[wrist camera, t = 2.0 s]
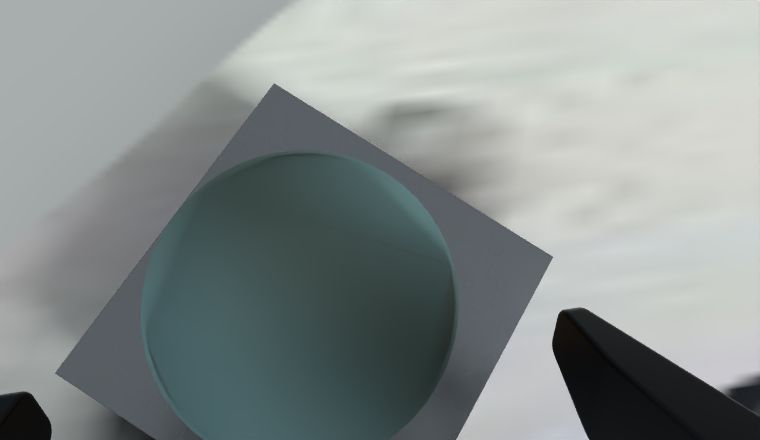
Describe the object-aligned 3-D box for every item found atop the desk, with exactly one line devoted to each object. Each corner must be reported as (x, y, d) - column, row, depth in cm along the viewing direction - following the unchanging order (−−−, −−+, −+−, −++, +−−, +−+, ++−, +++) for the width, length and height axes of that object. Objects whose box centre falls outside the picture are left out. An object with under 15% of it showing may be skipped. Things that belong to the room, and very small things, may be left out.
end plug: (341, 399, 19) (352, 538, 7) (238, 332, 19) (70, 352, 7) (405, 293, 20) (512, 251, 8) (306, 231, 20) (263, 96, 8)
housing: (370, 536, 18) (378, 586, 15) (106, 363, 19) (54, 373, 15) (517, 267, 21) (553, 256, 17) (284, 121, 21) (274, 83, 18)
